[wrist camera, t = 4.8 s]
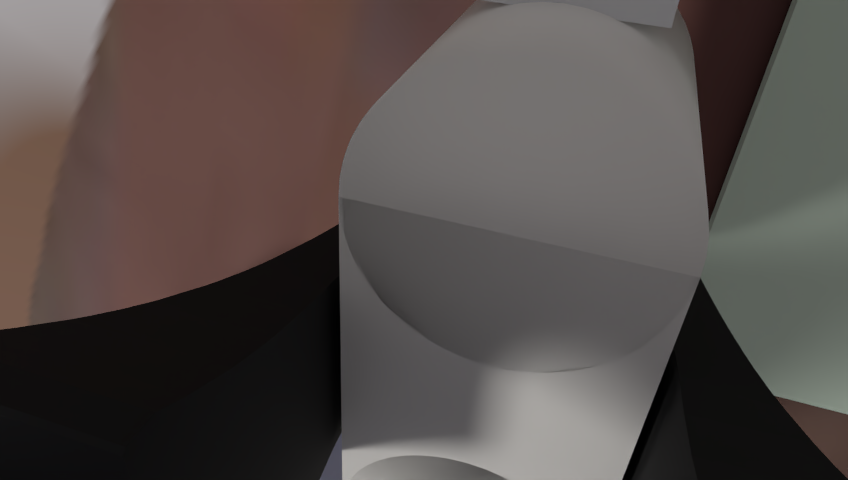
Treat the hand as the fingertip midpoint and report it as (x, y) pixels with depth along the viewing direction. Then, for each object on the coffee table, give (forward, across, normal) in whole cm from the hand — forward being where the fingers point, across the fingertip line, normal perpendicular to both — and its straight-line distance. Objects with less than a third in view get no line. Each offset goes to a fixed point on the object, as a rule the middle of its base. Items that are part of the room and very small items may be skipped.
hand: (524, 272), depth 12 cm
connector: (+1, 0, -1) cm, 2 cm away
